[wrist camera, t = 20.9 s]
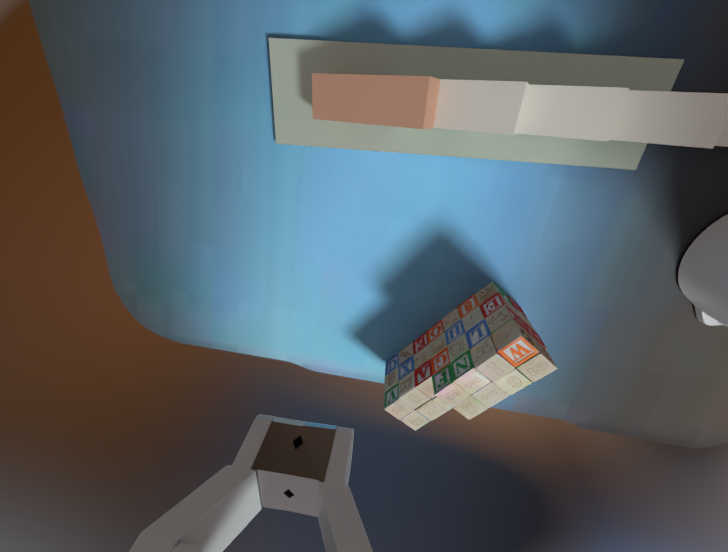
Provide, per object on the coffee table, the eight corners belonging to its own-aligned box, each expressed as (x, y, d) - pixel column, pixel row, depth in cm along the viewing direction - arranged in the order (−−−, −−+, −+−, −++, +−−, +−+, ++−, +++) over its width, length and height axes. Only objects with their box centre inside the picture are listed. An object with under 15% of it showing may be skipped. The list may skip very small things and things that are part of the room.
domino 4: (567, 90, 32) (726, 95, 27) (553, 133, 34) (700, 146, 29) (568, 88, 30) (742, 93, 25) (553, 135, 32) (712, 148, 27)
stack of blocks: (412, 382, 54) (415, 451, 43) (385, 361, 52) (380, 428, 41) (521, 306, 45) (560, 370, 34) (492, 279, 43) (522, 336, 33)
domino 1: (329, 76, 34) (440, 79, 29) (328, 118, 35) (433, 128, 31) (311, 73, 31) (429, 76, 26) (312, 118, 33) (422, 129, 28)
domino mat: (679, 60, 31) (684, 59, 30) (632, 168, 35) (635, 169, 35) (270, 38, 33) (268, 37, 33) (277, 143, 38) (275, 143, 37)
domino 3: (481, 84, 33) (622, 89, 28) (473, 128, 34) (603, 139, 30) (476, 82, 30) (629, 87, 26) (467, 129, 32) (608, 141, 28)
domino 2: (403, 80, 33) (529, 84, 28) (399, 123, 35) (516, 133, 30) (391, 77, 31) (527, 81, 26) (388, 123, 33) (513, 135, 28)
